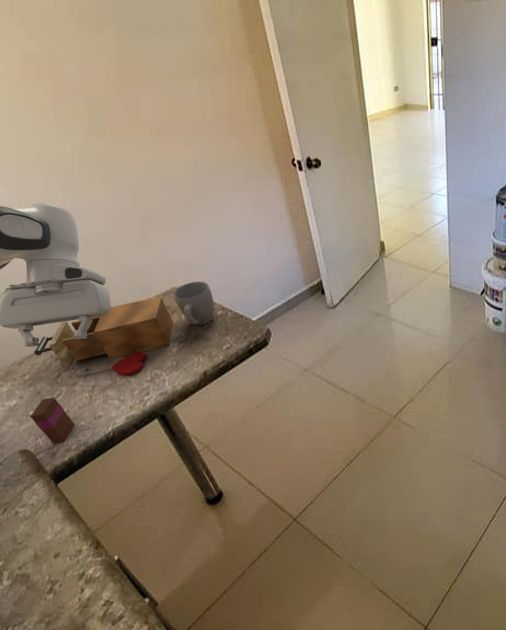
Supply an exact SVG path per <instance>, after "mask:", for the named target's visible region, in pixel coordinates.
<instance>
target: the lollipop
mask: <svg viewBox="0 0 506 630" xmlns="http://www.w3.org/2000/svg"><path fill="white" fill-rule="evenodd" d="M146 359H147V354H146V353H145V352H144V351H143V352H137V353H133V354H131V355H127V356H124V357H122V358H121V359H120V360H118V361H117V362H115V363H114V364H113V365H112V366H110V367H106V368H105V367H104V368H100V369H96V370H91V371H86V372H81V373H76V374H75V375H74V376H75V377H79V376H83V375H89V374H92V373H97V372H98V373H99V372H101V371H107V370H112V371H113V372H115V373H116V374H118V375H119V376H120V375H121V376H131V375H135V374H137V373H138V372H140V371H141V370H142V368H143V366H144V364H143V362H144V361H145V360H146Z"/></svg>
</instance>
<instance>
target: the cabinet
mask: <svg viewBox="0 0 506 630" xmlns="http://www.w3.org/2000/svg"><path fill="white" fill-rule="evenodd" d="M173 325H174V321H173V319H172V316H171V315H170V313H169V310H168V309H167V306H166V305H165V302H164V300H163V298H162V296H156V297H151V298H147V299H142V300H138V301H137V300H136V301H134V302H128V303H125V304H120V305H115V306H111V310H110V312H109V313H108V314H107V315H105V316H100V318H99V321H98V323H97V326H96V328H95V330H94V334H95V335H96V337H97V339H98V340H99V342H100V343H101V345H102V347H103V348H104V350H105V352H106V353H107V354H106V355H107V357H108V358H109V360H115V359H119V358H124V357H127V356H129V355H131V354H133V353H137V352H143V353H144V352H147V351H151V350H155V349H158V348H163V347H168V346H170V344H171V338H172V331H173Z"/></svg>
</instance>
